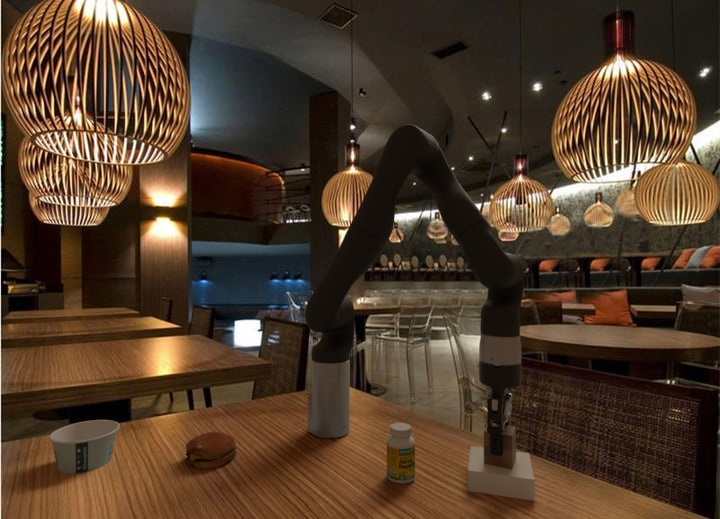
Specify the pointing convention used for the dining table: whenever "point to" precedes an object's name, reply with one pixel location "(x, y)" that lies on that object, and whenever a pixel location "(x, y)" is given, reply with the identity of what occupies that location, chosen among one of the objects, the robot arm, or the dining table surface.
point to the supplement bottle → (400, 454)
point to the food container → (84, 445)
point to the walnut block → (508, 448)
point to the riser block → (501, 476)
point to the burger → (210, 450)
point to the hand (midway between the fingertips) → (499, 445)
